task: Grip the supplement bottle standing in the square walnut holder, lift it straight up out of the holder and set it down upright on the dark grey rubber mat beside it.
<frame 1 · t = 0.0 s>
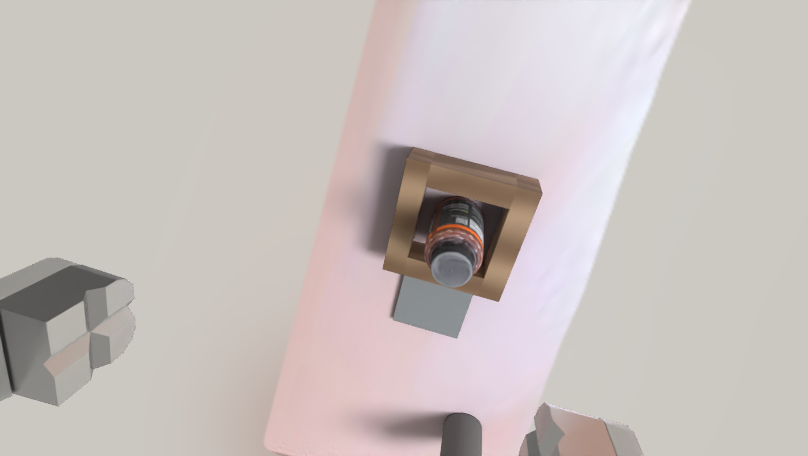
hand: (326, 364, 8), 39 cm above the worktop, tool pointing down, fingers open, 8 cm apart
walnut holder: (458, 218, 49), on the worktop
bottle: (462, 424, 65), on the worktop
supplement bottle: (458, 217, 49), resting in walnut holder
grey mat: (433, 300, 55), on the worktop
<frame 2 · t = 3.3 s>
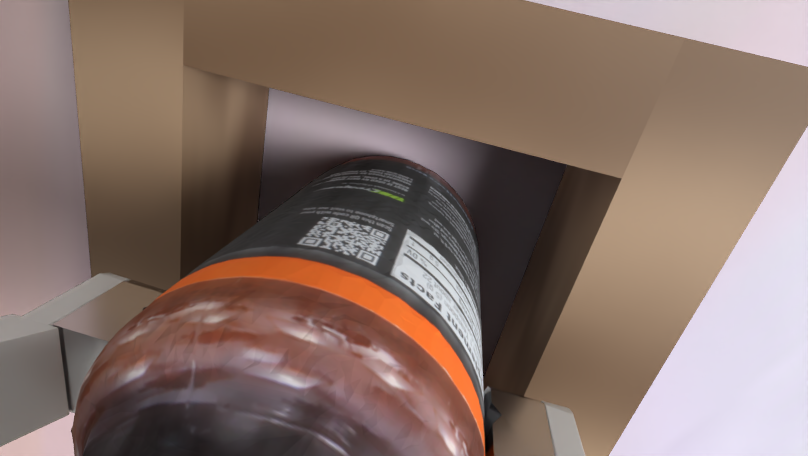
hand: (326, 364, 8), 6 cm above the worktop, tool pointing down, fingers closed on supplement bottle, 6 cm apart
walnut holder: (387, 241, 14), on the worktop
supplement bottle: (389, 238, 14), resting in walnut holder, touching gripper
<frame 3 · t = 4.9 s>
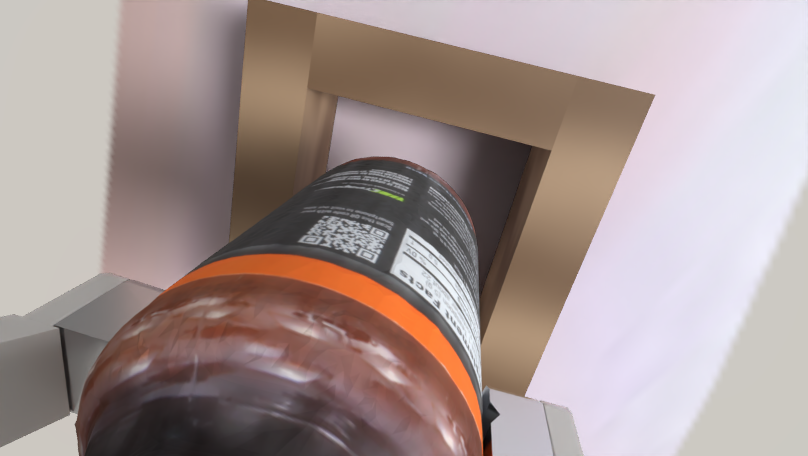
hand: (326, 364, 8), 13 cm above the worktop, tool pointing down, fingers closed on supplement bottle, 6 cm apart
walnut holder: (412, 203, 20), on the worktop
supplement bottle: (389, 239, 14), point 6 cm above the worktop, touching gripper
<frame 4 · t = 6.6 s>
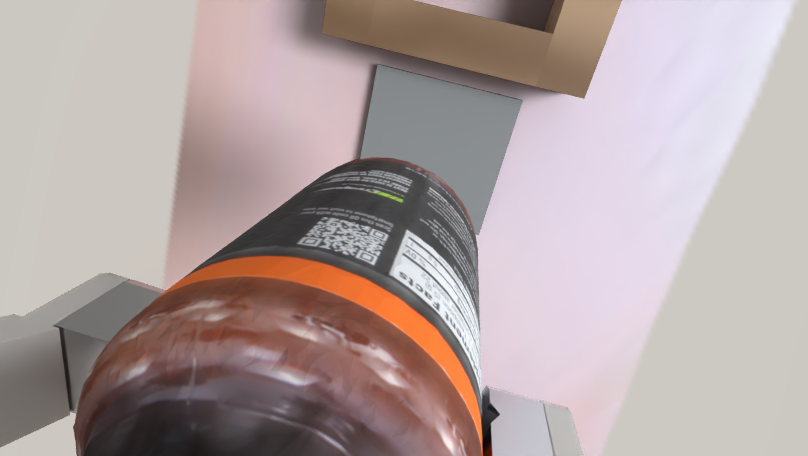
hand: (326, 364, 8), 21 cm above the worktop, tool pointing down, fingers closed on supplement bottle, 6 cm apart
supplement bottle: (388, 239, 14), point 15 cm above the worktop, touching gripper
grey mat: (431, 152, 27), on the worktop
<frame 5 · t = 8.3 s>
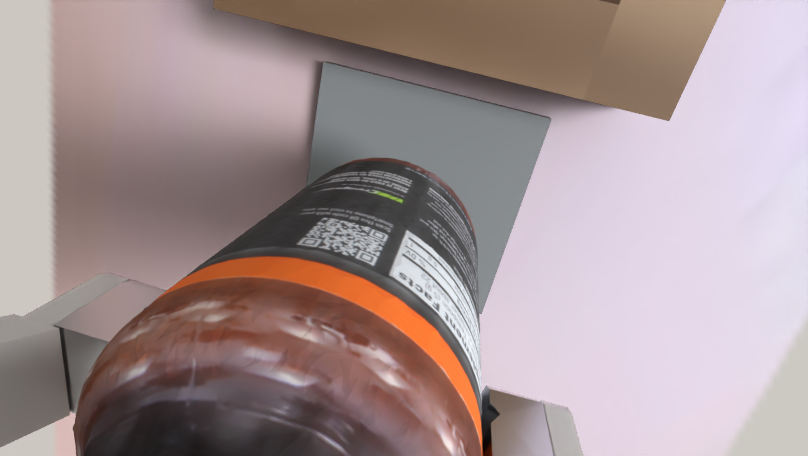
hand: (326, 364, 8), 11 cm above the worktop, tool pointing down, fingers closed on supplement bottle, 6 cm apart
supplement bottle: (388, 239, 14), point 5 cm above the worktop, touching gripper
grey mat: (411, 194, 18), on the worktop
when the fingers open (8 cm above the worktop, at t = 9.9 s): supplement bottle drops 1 cm, resting on grey mat.
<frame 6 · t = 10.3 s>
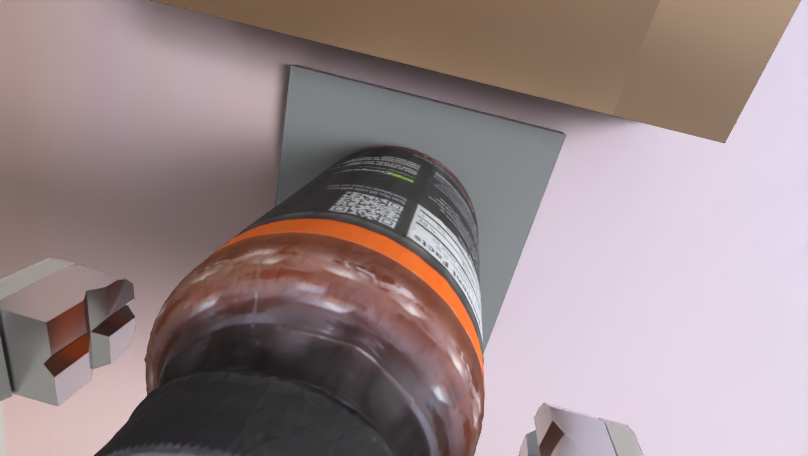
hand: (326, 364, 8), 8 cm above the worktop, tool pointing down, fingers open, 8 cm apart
supplement bottle: (395, 223, 15), resting on grey mat
grey mat: (398, 221, 16), on the worktop
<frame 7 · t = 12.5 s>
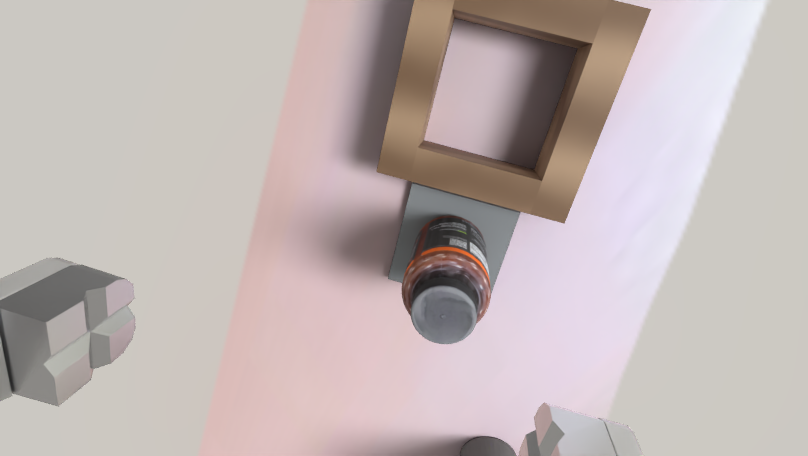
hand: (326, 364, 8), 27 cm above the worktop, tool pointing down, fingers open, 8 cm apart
walnut holder: (496, 97, 32), on the worktop
supplement bottle: (450, 245, 36), resting on grey mat
grey mat: (450, 245, 36), on the worktop
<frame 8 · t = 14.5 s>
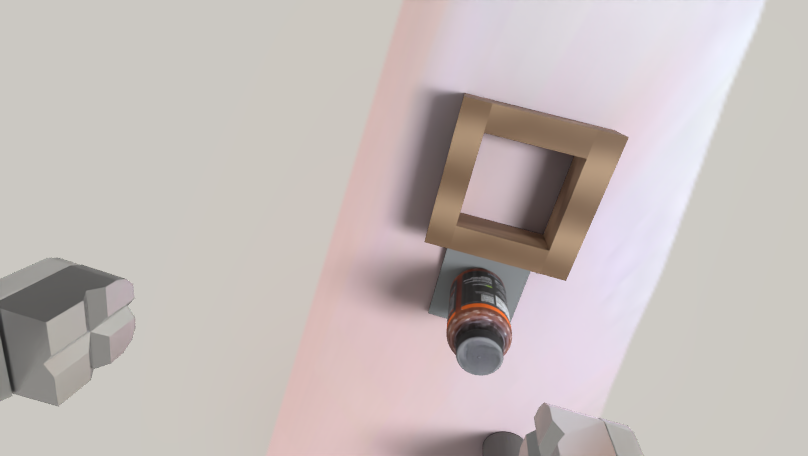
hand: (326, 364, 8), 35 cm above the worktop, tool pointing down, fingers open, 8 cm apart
walnut holder: (514, 182, 41), on the worktop
bottle: (505, 447, 54), on the worktop
supplement bottle: (477, 289, 46), resting on grey mat
grey mat: (477, 288, 46), on the worktop
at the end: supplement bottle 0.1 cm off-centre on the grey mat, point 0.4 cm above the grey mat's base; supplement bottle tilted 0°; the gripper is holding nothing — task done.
